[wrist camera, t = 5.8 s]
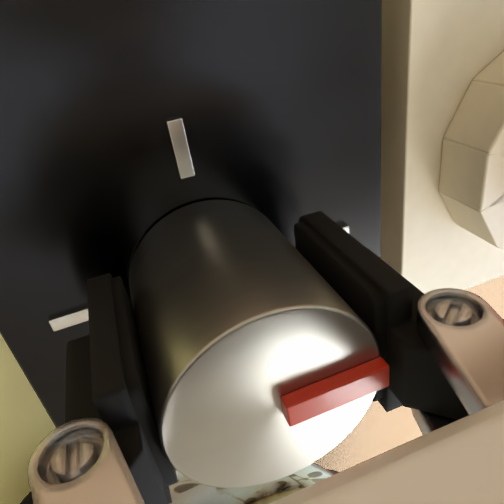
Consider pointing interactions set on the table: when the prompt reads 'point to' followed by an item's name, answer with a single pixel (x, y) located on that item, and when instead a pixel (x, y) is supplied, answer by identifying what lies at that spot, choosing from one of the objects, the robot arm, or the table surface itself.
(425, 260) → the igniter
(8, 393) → the table surface
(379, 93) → the hob panel
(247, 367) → the stove knob
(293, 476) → the salad plate
